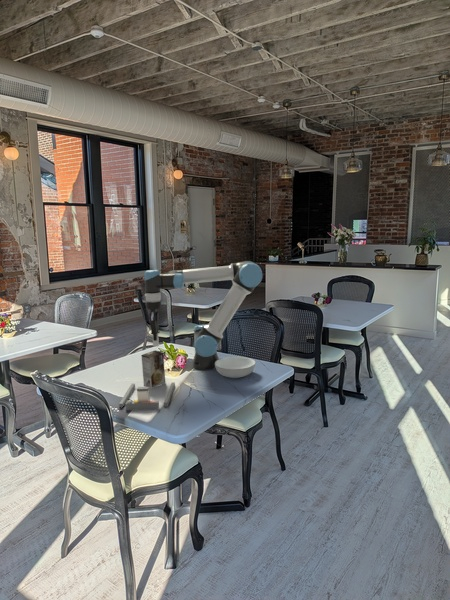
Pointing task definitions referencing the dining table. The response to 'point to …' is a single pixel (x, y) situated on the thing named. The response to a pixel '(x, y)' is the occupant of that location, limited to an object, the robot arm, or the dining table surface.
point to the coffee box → (153, 369)
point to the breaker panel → (144, 404)
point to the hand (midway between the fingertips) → (156, 345)
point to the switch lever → (143, 394)
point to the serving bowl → (235, 366)
